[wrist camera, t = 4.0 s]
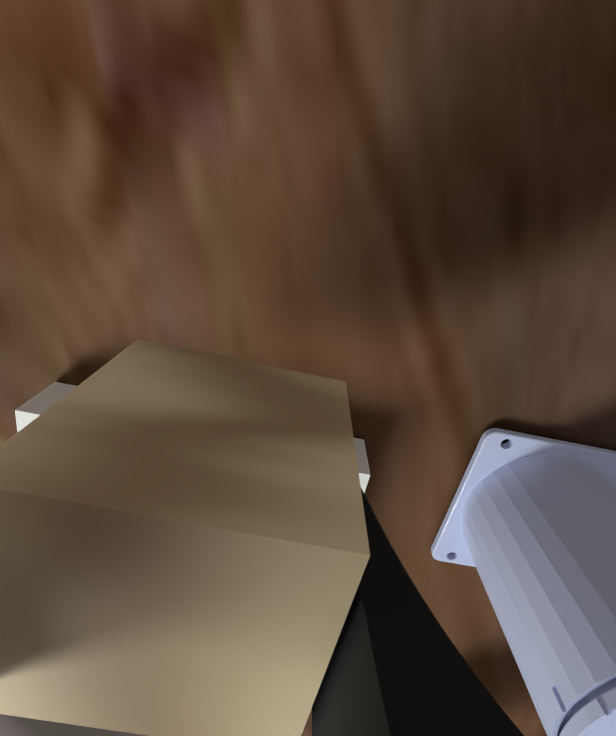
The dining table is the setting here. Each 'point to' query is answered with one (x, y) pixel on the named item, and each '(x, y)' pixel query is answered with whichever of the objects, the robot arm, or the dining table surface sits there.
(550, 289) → the dining table surface
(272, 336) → the dining table surface
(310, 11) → the dining table surface
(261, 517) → the birch block
